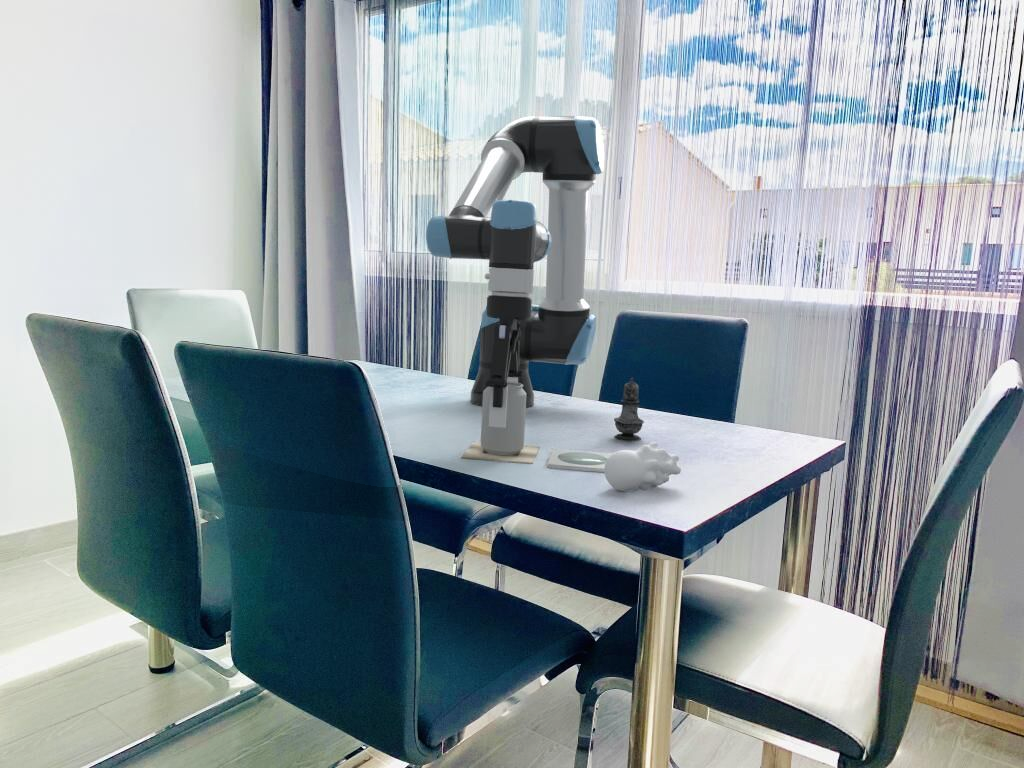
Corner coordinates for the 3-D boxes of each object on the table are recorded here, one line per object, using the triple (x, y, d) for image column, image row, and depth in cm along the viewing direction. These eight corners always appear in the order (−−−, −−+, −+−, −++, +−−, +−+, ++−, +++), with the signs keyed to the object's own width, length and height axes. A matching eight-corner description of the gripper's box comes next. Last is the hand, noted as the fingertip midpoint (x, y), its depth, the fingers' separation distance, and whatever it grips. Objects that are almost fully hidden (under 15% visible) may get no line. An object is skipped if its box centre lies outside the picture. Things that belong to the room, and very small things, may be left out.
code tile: (473, 442, 136) (474, 441, 136) (539, 447, 135) (539, 446, 135) (461, 458, 125) (461, 456, 125) (532, 464, 123) (532, 462, 123)
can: (519, 458, 125) (522, 387, 124) (475, 454, 127) (478, 384, 125) (527, 448, 133) (530, 381, 131) (485, 444, 134) (489, 378, 132)
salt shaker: (606, 437, 147) (610, 376, 145) (623, 433, 151) (628, 374, 149) (631, 443, 143) (636, 380, 141) (648, 439, 147) (653, 378, 145)
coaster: (552, 451, 132) (552, 448, 132) (615, 457, 131) (615, 453, 131) (547, 467, 121) (547, 463, 121) (615, 473, 120) (615, 469, 120)
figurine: (589, 466, 113) (652, 455, 119) (606, 505, 110) (670, 493, 116) (609, 443, 108) (674, 432, 114) (628, 483, 105) (693, 471, 111)
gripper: (498, 293, 138) (492, 406, 141) (474, 294, 114) (467, 431, 117) (538, 295, 138) (532, 409, 140) (523, 297, 113) (515, 435, 116)
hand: (503, 419), depth 129 cm, fingers open, 13 cm apart
